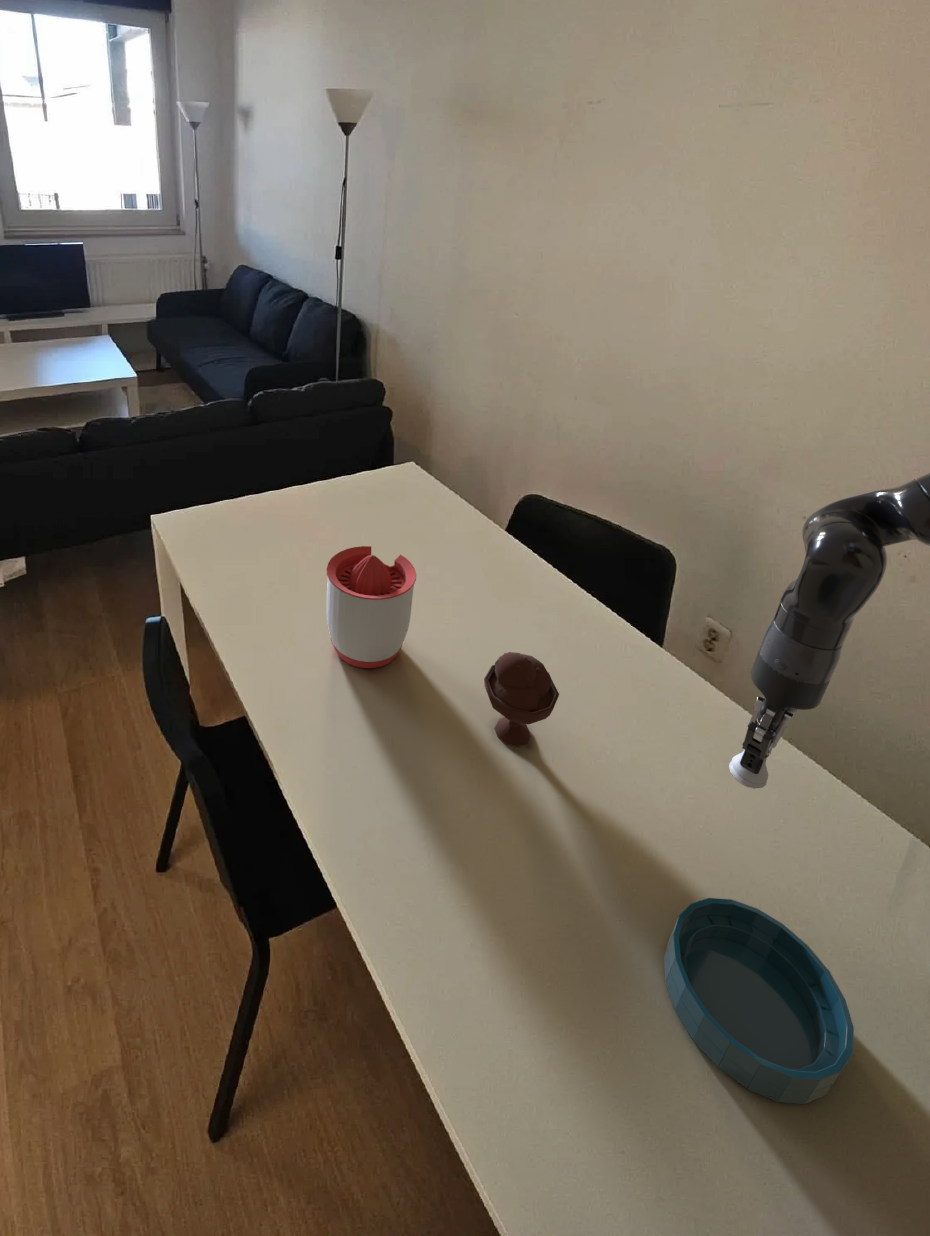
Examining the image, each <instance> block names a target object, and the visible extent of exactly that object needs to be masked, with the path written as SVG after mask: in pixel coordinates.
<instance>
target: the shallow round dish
mask: <svg viewBox="0 0 930 1236" xmlns="http://www.w3.org/2000/svg"><path fill="white" fill-rule="evenodd" d="M674 923H675V924H674V926H673V929H672V931H671V934H670V936H669V938H668V942H667V945H666V948H665V952H664V954H663V971H664V972H663V973H664V982H665V986H666V989H667V991H668V995H669V997H670V1001H671V1003H672V1005H673V1009H674V1011H675V1013H676V1015H677V1017H678V1018H679V1020H680V1021H681V1023H682V1024H683V1026H684V1028H685V1029H686V1031H687V1032H688V1035H689V1036H690V1038H691V1039H692V1040H693V1042H694V1043H695V1044H696V1045H697V1046H698V1047H699V1048H700V1050H702V1052H703V1053H704V1054H705V1055H706V1056H707V1057H708V1058H709V1059H710V1060H711V1062H713V1064H714V1065H715V1066H716V1067H717V1068H719V1069H720V1070H721V1071H723V1072H724V1073H725V1074H726V1075H728V1076H729V1077H731V1078H732V1079H733V1080H734V1081H736V1082H738V1083H739V1084H740V1085H741V1086H743V1087H744V1088H745V1089H747V1090H749V1091H751V1092H753V1093H756V1094H758V1095H760V1096H763V1097H765V1098H767V1099H769V1100H772V1101H774V1102H777V1103H785V1104H797V1105H798V1104H799V1105H806V1104H808V1103H811V1102H813V1101H816V1100H818V1099H820V1098H822V1097H825V1096H826V1095H827V1094H828V1093H829V1091H830V1089H831V1088H832V1086H833V1085H834V1083H835V1081H836V1080H837V1079H838V1077H839V1075H840V1074H841V1073H842V1071H843V1069H844V1068H845V1066H846V1065H847V1063H848V1062H849V1060H850V1059H851V1057H852V1056H853V1053H854V1035H855V1034H854V1033H855V1026H854V1023H853V1021H852V1017H851V1013H850V1011H849V1007H848V1004H847V1000H846V997H845V996H844V994H843V993H842V991H841V989H840V987H839V985H838V984H837V982H836V980H835V978H834V977H833V975H832V973H831V971H830V970H829V969H828V968H827V966H826V965H825V964H824V963H823V962H822V960H821V959H820V958H819V957H818V955H817V954H816V953H815V952H814V951H813V949H811V947H810V946H809V945H808V944H807V943H806V942H804V940H802V939H801V938H800V937H799V936H798V935H796V934H795V933H794V932H793V931H792V930H791V929H790V928H788V927H787V926H786V925H785V924H784V923H782V922H781V921H779V920H778V919H776V918H775V917H772V916H771V915H769V914H768V913H765V912H764V911H762V910H761V909H759V908H757V907H754V906H752V905H748V904H746V903H743V902H741V901H737V900H734V899H730V898H717V897H707V898H704V899H700V900H697V901H694V902H691V903H690V904H689V905H687V906H686V908H685V909H684V910H682V911H681V913H679V914H678V916H677V918H676V921H675V922H674Z"/></svg>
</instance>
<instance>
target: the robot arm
mask: <svg viewBox="0 0 930 1236" xmlns="http://www.w3.org/2000/svg"><path fill="white" fill-rule="evenodd" d="M801 531H802V532H801V535H802V539H803V540H802V541H803V545H804V551H805V556H804V559H803V564H802V567H801V570H800V572H799V575H798V576H797V578H795V579H793V580H792V581H790V583H788V584H787V586H786V588H785V590H784V591H783V592H782V593H783V594H782V596H781V598H780V600H779V603H778V605H777V609H776V611H775V613H774V616H773V619H772V620H771V622H770V624H769V625H768V626H767V628H766V630H765V633H764V635H763V637H762V641H761V643H760V646H759V649H758V651H757V654H756V656H755V659H754V662H753V664H752V667H751V669H750V680H751V681H752V683H753V685H754V686H755V688H756V689H757V691H759V692H760V693H761V694H760V695H758V696H757V698H756V700H755V702H754V704H753V710H754V711H753V713H752V716H751V718H750V721H749V723H748V724H747V730H746V734H745V737H744V741H743V742H742V747H741V748H742V749H743V751H744V749H745V751H744V754H743V756H742V759H741V761H740V764H741V766H742V767H744V768H746V769H747V770H749V771H751V772H752V773H754V774H758V773H759V772H760V770H761V767H762V765H763V763H764V760H765V758H767V759H768V758H769V757H770V755H771V754H770V752H771V753H772V750H773V748H772V749H771V751H770V748H771V746H772V744H773V743H777V744H778V743H779V742H780V740H781V739H782V737H783V734H784V732H785V729H787V728H788V726H789V725H790V724H791V722H792V720H793V718H794V716H795V715H796V714H797V712H798V711H799V710H800V711H809V710H813V709H815V708H817V707H818V706H819V705H820V704H821V702H822V700H823V698H824V695H825V694H826V691H827V689H828V687H829V684H830V682H831V680H832V678H833V675H834V673H835V670H836V669H837V667H838V664H839V661H840V657H841V654H842V653H841V652H842V649H843V647H844V643H845V641H846V640H847V637H848V634H849V632H850V630H851V628H852V626H853V623H854V619H855V617H856V615H857V614H858V613H859V612H860V611H861V610H862V609H863V608H864V607H865V605H866V604H867V603H868V602H869V600H870V599H871V597H872V596H873V595H874V594H875V592H876V591H877V590H878V588H879V586H880V584H881V582H882V581H883V578H884V576H885V573H886V569H887V565H888V554H887V550H886V547H888V546H892V545H896V544H900V543H905V542H908V541H913V540H916V541H918V542H920V543H921V544H923V545H925V546H930V472H928V473H926V474H923V475H921V476H919V477H916V478H913V479H911V480H909V481H907V482H905V483H902V484H901V485H898V486H893V487H888V488H884V489H883V488H882V489H877V490H873V491H869V492H866V493H861V494H858V495H853V496H850V497H846V498H845V497H844V498H843V499H839V500H836V501H832V502H831V503H828V504H826V505H824V506H822V507H820V508H818V509H817V510H815V511H814V512H813V513H812V514H810V515H809V516H808V517H807V518H806V520H805V522H804V523H803V526H802V530H801ZM772 731H773V732H772ZM768 754H769V755H768ZM767 755H768V756H767Z"/></svg>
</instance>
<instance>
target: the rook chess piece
mask: <svg viewBox="0 0 930 1236" xmlns="http://www.w3.org/2000/svg"><path fill="white" fill-rule="evenodd" d="M772 732H773V731H772ZM777 745H778V743H773V744H772V746H771V748H770V751H771V752H770V755H771V754H772V750H773V749H774V748H776V747H777ZM771 749H772V750H771ZM744 751H745V749H743V750H742V752H739V753H738V754H736V755H734V756H733V757H732V758H731V761H730V762H729V765H728V769H729V771H730V774H731V775H732V777H733V778H734V779H735V781H737V782H738V783H739V784H741V785H742V786H745V787H746V788H750V789H756V790H757V789H763V788H764V787H766V786H767V782H768V779H769V771H768V767H767V759H768V757H769V756H770V755H769V754H768V755H769V756H768V755H767V756H768V757H767V758H765V760H764V763H763V765H762V767H761V770H760V772H759V773H758V774H754V773H752V772H751V771H749V770H747V769H746V768H744V767H742V766H741V764H740V761H741V759H742V756H743V754H744Z"/></svg>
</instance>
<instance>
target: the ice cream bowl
mask: <svg viewBox="0 0 930 1236" xmlns="http://www.w3.org/2000/svg"><path fill="white" fill-rule="evenodd" d="M483 681H484V688H485V691H486V694H487V696H488V699H489V702H490V705H491V707H492V709H494V710H495V711H496V712H497V713H499V714H500V715H501V716H502V718H501V717H500V718H499V719H498V720H497V722H496V724H495V725H494V731H495V734H496V737H497V738H498V739H499V740H501V741H502V742H503V743H504V744H505V745H508V746H513V747H521V746H524V745H527V744H528V743H529V742H530V741H529V740H530V738H531V733H530V730H529V727H528V726H527V725H531V724H535V723H539V722H541V721H544V720H546V719H547V718H549V717H550V716H551V714H552V713H553V711H554V708H555V706H556V703H557V701H558V698H559V696H560V693H559V690H558V688H557V686H556V685H555V683H554V681H553V679H552V677H551V674H550V672H549V671H548V670H547V668H546V666H545V665H544V663H542V661H540V660H539V659H537V658H536V657H534V656H533V655H530V654H524V653H521V652H514V651H513V652H512V651H508V652H504V653H503V654H502V655H500V656H498V658H497V660H496V661H495V662H494V664H493V665H491V666H490V667H489V670H488V671H487V673H486V675H485V677H484V679H483Z"/></svg>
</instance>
